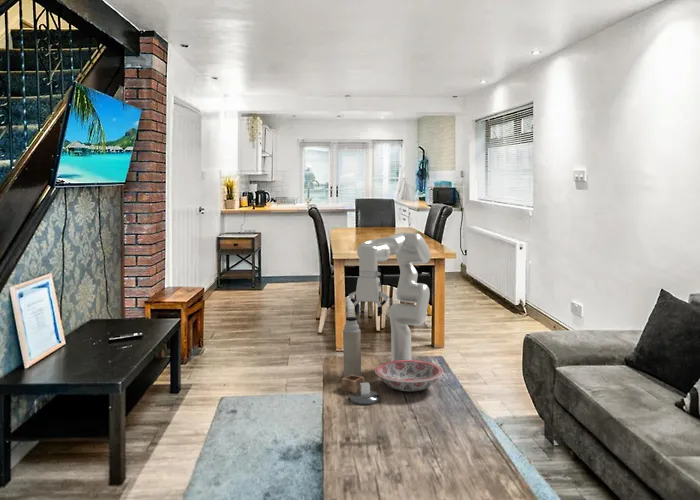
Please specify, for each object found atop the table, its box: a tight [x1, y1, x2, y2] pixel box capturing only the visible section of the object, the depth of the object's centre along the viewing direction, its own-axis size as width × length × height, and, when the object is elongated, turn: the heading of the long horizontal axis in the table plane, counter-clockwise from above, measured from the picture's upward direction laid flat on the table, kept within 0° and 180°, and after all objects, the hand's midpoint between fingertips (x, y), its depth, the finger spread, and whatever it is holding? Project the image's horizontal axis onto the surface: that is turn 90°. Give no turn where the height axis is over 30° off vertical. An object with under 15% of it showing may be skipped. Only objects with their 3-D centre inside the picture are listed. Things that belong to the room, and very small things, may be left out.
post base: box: [349, 382, 381, 406], centre depth 231 cm, size 12×12×6 cm
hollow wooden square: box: [341, 374, 365, 394], centre depth 243 cm, size 7×7×5 cm
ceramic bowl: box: [374, 359, 444, 392], centre depth 244 cm, size 29×29×8 cm
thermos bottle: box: [342, 316, 362, 378], centre depth 257 cm, size 8×8×28 cm
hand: (368, 314), depth 237 cm, fingers open, 9 cm apart
